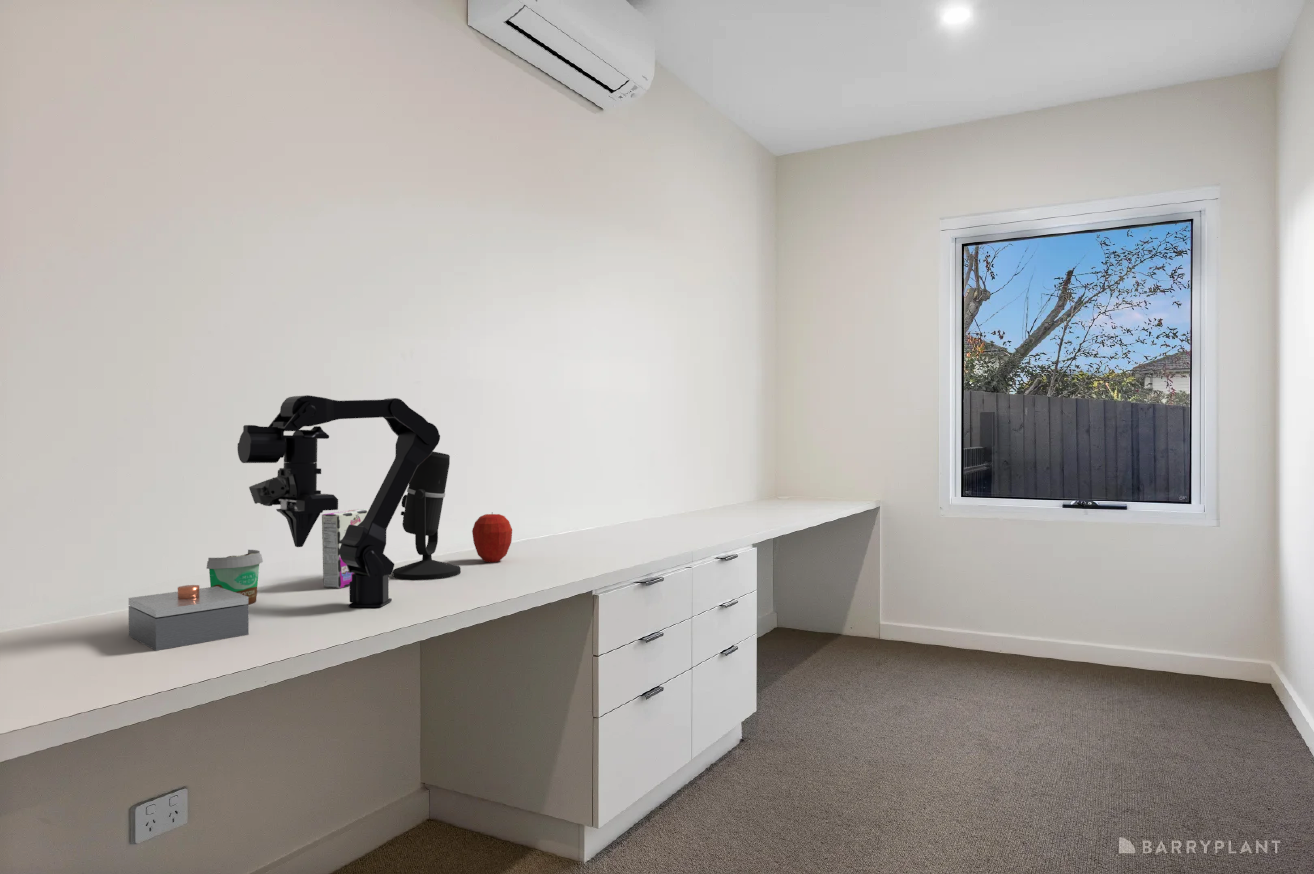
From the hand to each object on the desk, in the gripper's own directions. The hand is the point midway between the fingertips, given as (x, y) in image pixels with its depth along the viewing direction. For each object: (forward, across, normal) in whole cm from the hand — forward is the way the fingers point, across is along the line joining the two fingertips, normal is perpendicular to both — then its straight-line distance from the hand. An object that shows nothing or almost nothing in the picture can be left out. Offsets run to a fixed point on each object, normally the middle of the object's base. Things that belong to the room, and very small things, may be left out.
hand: (298, 546), depth 153 cm
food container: (+13, -20, -2) cm, 24 cm away
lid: (+8, 0, -19) cm, 20 cm away
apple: (+12, -27, +64) cm, 70 cm away
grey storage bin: (+13, 0, -18) cm, 23 cm away
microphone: (+12, -22, +41) cm, 49 cm away
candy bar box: (+13, -25, +22) cm, 36 cm away
